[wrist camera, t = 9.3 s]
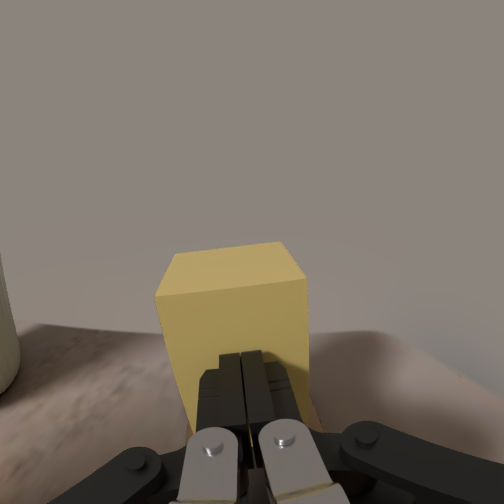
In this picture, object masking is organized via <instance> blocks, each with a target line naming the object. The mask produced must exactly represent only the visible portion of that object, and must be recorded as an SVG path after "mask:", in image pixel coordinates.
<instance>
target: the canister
mask: <svg viewBox="0 0 504 504" xmlns="http://www.w3.org/2000/svg"><path fill="white" fill-rule="evenodd" d="M19 366H20V347H19V341H18V336H17V332H16V328H15V324H14V320H13V316H12V312H11V307H10V303H9V298H8V293H7V289H6V283H5V278H4V273H3V267H2V262H1V255H0V394H1V393H2V392H4V391H5V390H6V388H7V387H9V386H10V384H11V382H12V381H13V380H14V378H15V376H16V375H17V372H18V369H19Z"/></svg>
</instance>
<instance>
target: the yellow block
mask: <svg viewBox="0 0 504 504" xmlns="http://www.w3.org/2000/svg"><path fill="white" fill-rule="evenodd" d="M154 298H155V303H156V307H157V311H158V316H159V320H160V324H161V328H162V332H163V335H164V339H165V343H166V347H167V351H168V354H169V358H170V361H171V365H172V368H173V372H174V375H175V379H176V382H177V385H178V388H179V392H180V395H181V398H182V401H183V404H184V407H185V410H186V413H187V416H188V419H189V422H190V425H191V428H192V431H193V434H195V432H196V419H197V405H198V391H199V379H200V378H201V376H202V375H203V373H204V372H205V370H207V369H218V368H219V355H220V354H229V353H238V352H239V354H240V360H241V367H242V357H241V352H246V351H253V350H261V351H262V356H263V361H264V363H267V362H274V361H278V362H279V363H281V364H282V365H283V366H284V367H285V368H286V370H287V373H288V376H289V380H290V383H291V386H292V389H293V392H294V396H295V399H296V402H297V405H298V409H299V412H300V415H301V418H302V421H303V422H304V424H305V425H306V426H308V427H309V329H308V328H309V327H308V294H307V278H306V276H305V275H304V273H303V272H302V271H301V270H300V268H299V266H298V265H297V264H296V262H295V261H294V260H293V258H292V257H291V255H290V254H289V253H288V251H287V250H286V248H285V247H284V246H283V244H282V243H281V242H280V241H279V242H270V243H262V244H254V245H245V246H237V247H229V248H221V249H213V250H205V251H196V252H188V253H181V254H175V256H174V258H173V260H172V262H171V264H170V265H169V268H168V270H167V271H166V273H165V275H164V277H163V279H162V282H161V283H160V286H159V288H158V290H157V292H156V294H155V296H154ZM242 373H243V367H242ZM243 380H244V376H243ZM244 386H245V385H244ZM250 435H251V433H250ZM251 443H252V438H251ZM252 447H253V444H252Z"/></svg>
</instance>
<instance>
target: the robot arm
mask: <svg viewBox="0 0 504 504" xmlns="http://www.w3.org/2000/svg"><path fill="white" fill-rule="evenodd" d="M241 357H242V367H243V373H242V367H241V360H240V354H239V352H238V353H229V354H220V355H219V368H218V369H207V370H205V372H204V373H203V375H202V376H201V378H200V379H199V391H198V405H197V419H196V432H195V434H194V435H192V437H191V438H190V439H189V441H188V444H187V446H185V447H183V448H182V449H180V450H177V451H174V452H170V453H167V454H163V455H158V454H157V453H156V452H155V451H154V450H152V449H149V448H146V447H133V448H129V449H127V450H125V451H123V452H121V453H120V454H119V455H117V456H116V457H115V458H113V459H112V460H111V461H109V462H108V463H106V464H105V465H104V466H102V467H101V468H99V469H98V470H97V471H95V472H94V473H92V474H91V475H89V476H88V477H87V478H85V479H84V480H82V481H81V482H79V483H78V484H76V485H75V486H73V487H72V488H70V489H69V490H67V491H66V492H64V493H63V494H61V495H60V496H58V497H57V498H55V499H54V500H52V501H51V502H49V503H47V504H249V487H248V486H249V476H248V470H249V469H255V467H254V460H253V452H252V444H253V450H254V456H255V461H256V467H257V468H263V472H264V478H265V484H266V490H267V493H268V497H269V501H270V504H504V464H500V463H496V462H493V461H489V460H485V459H481V458H478V457H474V456H471V455H468V454H464V453H461V452H458V451H455V450H451V449H448V448H445V447H442V446H439V445H436V444H433V443H430V442H428V441H425V440H422V439H419V438H416V437H414V436H411V435H408V434H406V433H403V432H400V431H398V430H395V429H392V428H390V427H387V426H385V425H382V424H380V423H377V422H373V421H361V422H357V423H354V424H352V425H350V426H349V427H347V428H346V429H345V430H344V432H343V433H342V434H341V433H321V432H317V431H314V430H312V429H310V428H309V427H308V426H306V425H305V424H304V422H303V421H302V418H301V415H300V412H299V409H298V405H297V402H296V399H295V396H294V392H293V389H292V386H291V383H290V380H289V376H288V373H287V370H286V368H285V367H284V366H283V365H282V364H281V363H279V362H278V361H274V362H267V363H264V361H263V356H262V351H261V350H253V351H246V352H241ZM243 376H244V380H243ZM244 385H245V386H244ZM250 433H251V435H250ZM251 438H252V443H251Z"/></svg>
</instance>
